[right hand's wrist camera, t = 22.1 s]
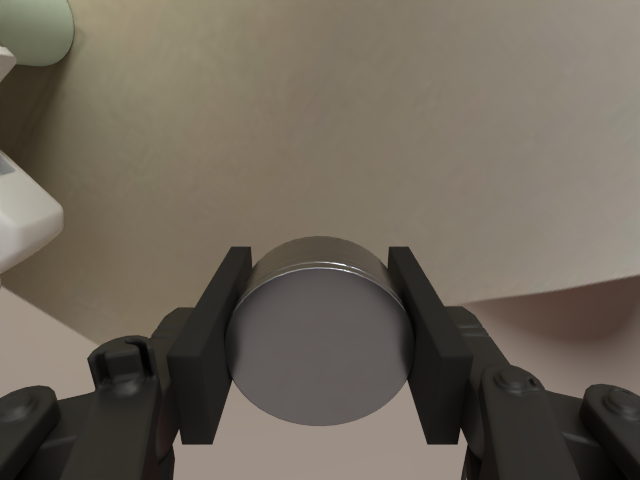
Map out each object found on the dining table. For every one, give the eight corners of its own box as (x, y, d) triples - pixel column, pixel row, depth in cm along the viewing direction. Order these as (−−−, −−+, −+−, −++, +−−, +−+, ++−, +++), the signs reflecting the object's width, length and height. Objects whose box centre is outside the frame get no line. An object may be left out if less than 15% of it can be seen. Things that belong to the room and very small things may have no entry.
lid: (284, 391, 14) (277, 447, 12) (211, 273, 12) (186, 313, 10) (420, 341, 13) (441, 391, 11) (363, 208, 11) (373, 235, 9)
